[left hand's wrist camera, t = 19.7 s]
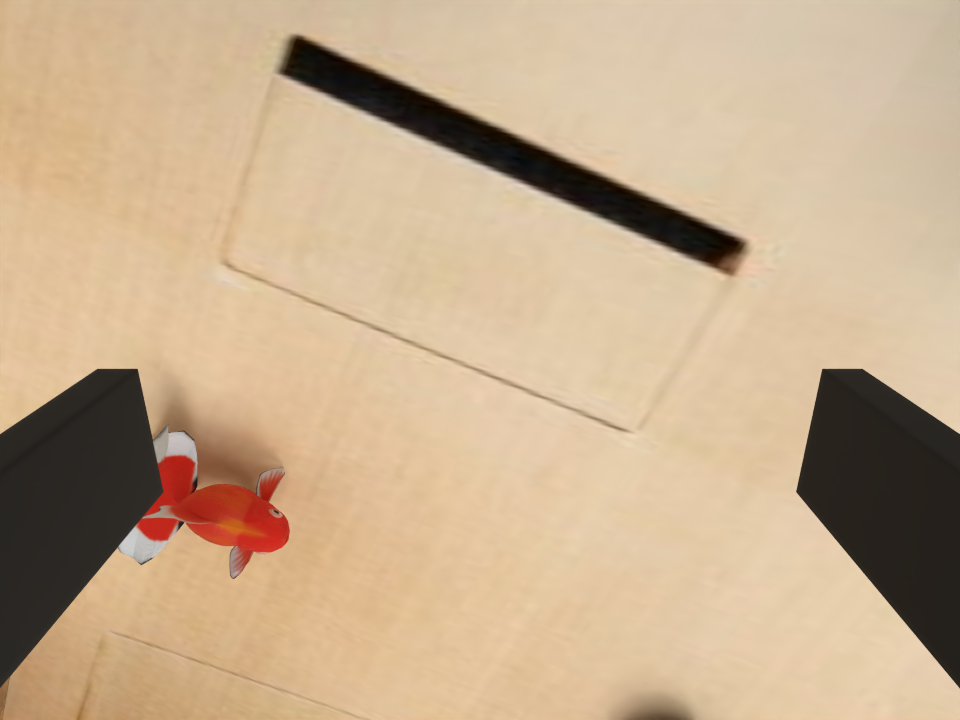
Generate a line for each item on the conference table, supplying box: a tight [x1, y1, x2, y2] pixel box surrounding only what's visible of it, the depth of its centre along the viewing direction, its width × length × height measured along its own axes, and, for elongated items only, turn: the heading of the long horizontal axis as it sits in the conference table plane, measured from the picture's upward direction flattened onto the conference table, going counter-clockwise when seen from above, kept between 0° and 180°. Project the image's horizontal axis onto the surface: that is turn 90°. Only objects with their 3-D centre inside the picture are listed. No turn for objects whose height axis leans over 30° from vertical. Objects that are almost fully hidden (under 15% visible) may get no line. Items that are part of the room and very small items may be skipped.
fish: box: [117, 425, 290, 579], centre depth 45 cm, size 11×16×10 cm
